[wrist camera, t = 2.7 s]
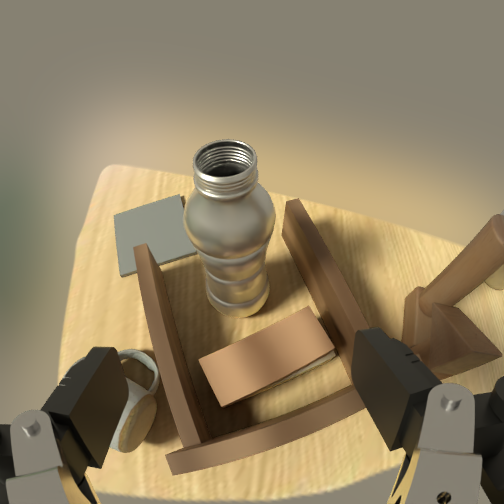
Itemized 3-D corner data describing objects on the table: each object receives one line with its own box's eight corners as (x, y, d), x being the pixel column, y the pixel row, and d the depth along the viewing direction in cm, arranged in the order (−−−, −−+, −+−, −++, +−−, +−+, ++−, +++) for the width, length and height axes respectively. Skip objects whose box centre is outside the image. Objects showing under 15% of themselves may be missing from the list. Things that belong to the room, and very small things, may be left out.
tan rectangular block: (308, 321, 32) (318, 301, 27) (329, 363, 30) (345, 351, 25) (205, 363, 30) (195, 351, 25) (224, 409, 27) (217, 408, 22)
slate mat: (180, 196, 41) (179, 194, 41) (196, 253, 37) (196, 251, 36) (115, 217, 40) (113, 215, 39) (121, 277, 35) (120, 275, 34)
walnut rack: (292, 232, 38) (304, 161, 28) (369, 390, 28) (426, 370, 18) (150, 275, 35) (114, 214, 25) (202, 454, 24) (172, 475, 14)
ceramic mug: (142, 455, 24) (112, 461, 18) (82, 417, 26) (43, 411, 19) (180, 371, 29) (161, 355, 23) (118, 340, 31) (88, 317, 24)
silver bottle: (273, 319, 32) (296, 192, 15) (211, 327, 32) (164, 207, 15) (263, 267, 36) (272, 122, 19) (206, 274, 35) (169, 133, 18)
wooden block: (394, 383, 28) (507, 335, 13) (403, 297, 33) (487, 205, 18) (420, 387, 27) (536, 341, 12) (427, 303, 33) (516, 218, 17)
